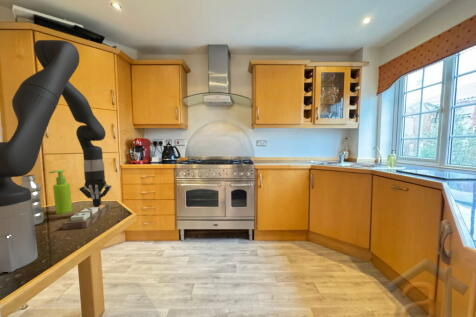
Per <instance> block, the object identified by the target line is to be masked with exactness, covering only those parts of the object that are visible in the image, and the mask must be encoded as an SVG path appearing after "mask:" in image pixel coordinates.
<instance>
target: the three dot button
mask: <svg viewBox="0 0 476 317" xmlns="http://www.w3.org/2000/svg"><path fill="white" fill-rule="evenodd" d="M97 211H98V207H92V208H89V207H86V208H83V209H82V210H80V212H79V213H87V212H90V214H94V213H96V212H97Z"/></svg>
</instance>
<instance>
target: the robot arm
mask: <svg viewBox="0 0 476 317" xmlns="http://www.w3.org/2000/svg"><path fill="white" fill-rule="evenodd" d="M33 50H34V51H33V52H34V54H35V56H36V59H37V60H38V62H39V65H41V67H42V69H40V70H39V71H37V72H36V73H34V74H32V75H30V76H29V77H27V78H25V80H24V81H22V82H21V84H19V87H18V88H17V90H16V92H15V93H14V95H13V98H12V100H11V104H12V109H13V112H14V114H15V117H16V120H17V126H16V129H15V131H14V133H13V135H12V136H11V138H10V139H9V140H8V141H0V274H3V273H2V272H8V273H12V272H14V271H15V270H17V269H20V268H23V267H25V266H27V265H30V264H31V263H33V262H34V261H36V259H38V257H39V255H38V244H37V243H38V242H37V237H36V236H37V235H36V228H35V226H36V225H34V217H33V207H32V199H31V192H30V190H29V189H28V188H25V187H22V186H20V185H21V184H20V185H19V184H17V183H16V182H14V181H13V180H12V178H18V177H19V178H20V177H22V176H26V175H28V174H29V173H30V172H31V171H32V170H33V169H34V168H35V165H36V164H37V161H38V157H39V154H40V150H41V147H42V145H43V144H42V143H43V139H44V136H45V134H46V131H47V129H48V127H49V124H50V121H51V118H52V117H53V114H54V112H55V111H56V109H57V108H58V104H59V103H60V99H61V96H62V97H63V99H64V101H65V102H66V103H65V104H67V106H68V109H69V111H70V113H71V115H72V117H73V118H74V121H75V122H77V123H81V124H83V125H79V126H78V127H77V129H76V131H75V132H76V133H75V134H76V137H77V140H78V142H79V145H80V146H81V150H82V154H83V175H84V176H83V177H84V181H85V182H84V184H83V185H82V187H80V188H78V190H79V191H80V192H81V193H83V195H84V196H86V198H87V199H91V200H92V205H93V206H94V207H99V206H100V205H102V198H103V197H105V196H106V195H107V194H108V192H109V191H110V190H111V188H112V185H109V184H108V183H107V181H106V177H105V175H106V174H105V163H104V159H103V157H104V156H103V149H102V147H101V146H98V145H94V144H93V143H92V142H98V141H103V140H104V139H105V137H106V129H105V128H104V127H103V125H102V123H100V121H99V120H98V118H97V117H96V116H95V115H94V113H93V110H92V108H91V105H90V103H89V101H88V99H87V97H86V96H85V95H84V94H83V93H82V92H81V91H80V90H79V89H78V88H77V87H75V86H74V85H73V84H72V83H71V82H70V79H71V78H72V76H73V75H74V74H75V71H76V70H77V69H78V66H79V64H80V52H79V49H77V47H76V46H75V44H73V43H71V42H69V41H66V40H64V39H63V40H62V39H58V40H57V39H39V40H36V41H35V42H34V44H33ZM103 189H104V190H103Z"/></svg>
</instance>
